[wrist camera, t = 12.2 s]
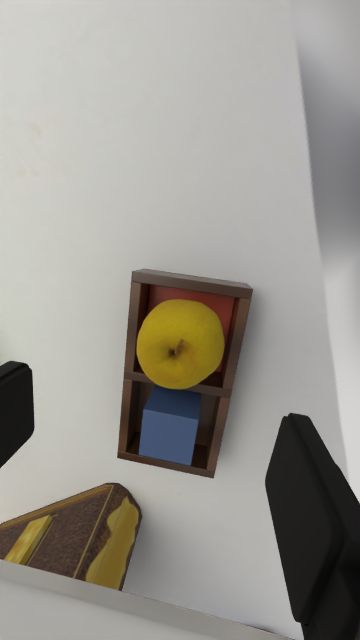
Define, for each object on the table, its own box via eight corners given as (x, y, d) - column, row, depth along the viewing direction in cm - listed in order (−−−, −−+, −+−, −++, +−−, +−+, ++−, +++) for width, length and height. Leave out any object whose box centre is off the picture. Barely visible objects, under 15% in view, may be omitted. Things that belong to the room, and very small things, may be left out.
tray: (143, 268, 23) (131, 271, 19) (247, 283, 22) (253, 288, 19) (128, 433, 27) (117, 458, 24) (213, 451, 26) (213, 478, 23)
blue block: (201, 390, 24) (198, 420, 20) (194, 430, 26) (190, 466, 21) (155, 382, 25) (143, 409, 21) (150, 421, 26) (138, 455, 22)
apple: (211, 281, 22) (209, 297, 14) (231, 350, 23) (239, 399, 15) (141, 303, 23) (105, 327, 15) (164, 367, 24) (141, 420, 16)
